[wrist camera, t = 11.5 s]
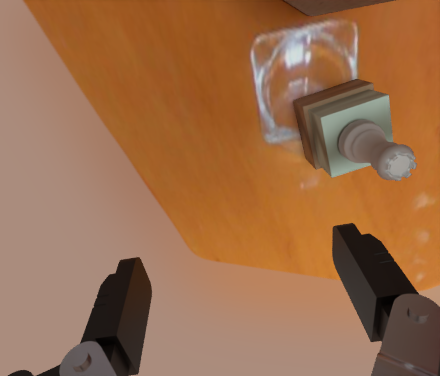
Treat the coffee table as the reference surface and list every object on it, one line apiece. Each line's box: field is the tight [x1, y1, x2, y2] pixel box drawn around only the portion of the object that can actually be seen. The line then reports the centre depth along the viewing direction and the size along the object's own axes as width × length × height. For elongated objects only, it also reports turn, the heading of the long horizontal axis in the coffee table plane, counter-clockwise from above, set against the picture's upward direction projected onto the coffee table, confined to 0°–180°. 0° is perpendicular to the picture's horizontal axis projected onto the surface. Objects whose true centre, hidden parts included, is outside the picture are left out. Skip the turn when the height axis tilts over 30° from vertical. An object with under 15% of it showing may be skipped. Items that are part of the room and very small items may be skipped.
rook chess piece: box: [338, 120, 417, 181], centre depth 30 cm, size 4×4×8 cm
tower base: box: [293, 79, 393, 177], centre depth 37 cm, size 8×8×8 cm
